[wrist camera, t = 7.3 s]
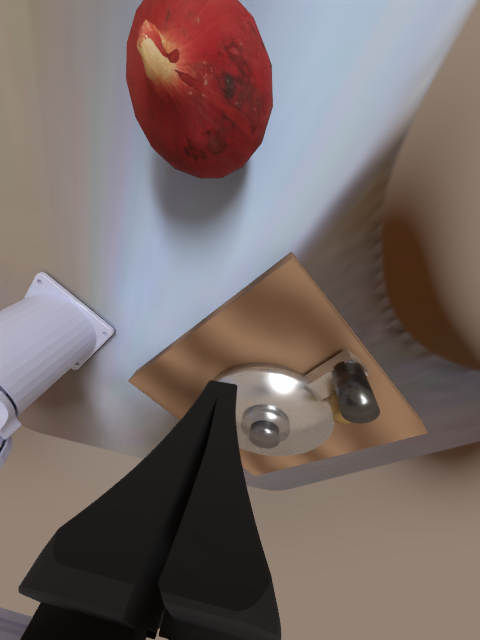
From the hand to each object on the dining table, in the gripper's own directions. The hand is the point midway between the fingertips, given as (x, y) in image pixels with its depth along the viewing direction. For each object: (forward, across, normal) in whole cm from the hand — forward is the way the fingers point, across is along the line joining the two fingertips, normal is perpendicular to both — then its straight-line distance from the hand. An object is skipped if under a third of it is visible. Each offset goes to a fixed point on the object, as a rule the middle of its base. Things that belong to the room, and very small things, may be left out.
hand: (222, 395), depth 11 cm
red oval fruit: (+9, +2, -12) cm, 15 cm away
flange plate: (+7, -4, +8) cm, 12 cm away
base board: (+9, -3, +10) cm, 14 cm away
